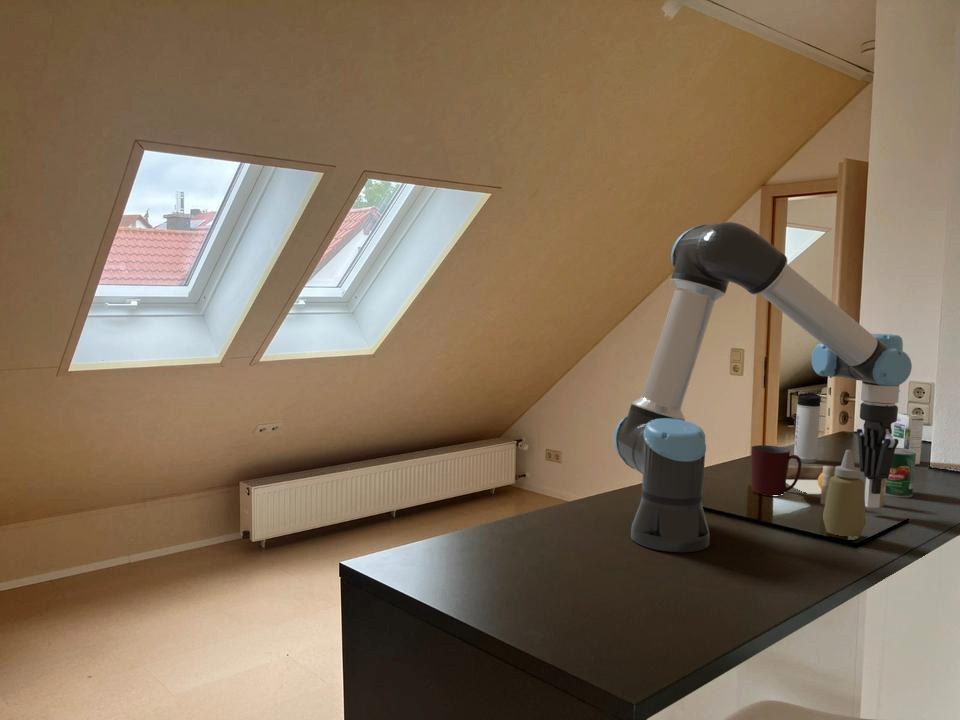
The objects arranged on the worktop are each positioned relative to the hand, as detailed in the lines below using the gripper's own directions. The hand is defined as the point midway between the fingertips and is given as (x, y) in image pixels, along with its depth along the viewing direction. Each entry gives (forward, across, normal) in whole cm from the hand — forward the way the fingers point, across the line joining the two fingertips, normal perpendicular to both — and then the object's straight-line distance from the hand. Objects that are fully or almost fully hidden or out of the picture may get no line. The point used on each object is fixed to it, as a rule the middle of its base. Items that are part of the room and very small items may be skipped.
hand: (871, 506), depth 180 cm
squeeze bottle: (+2, -16, +15) cm, 22 cm away
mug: (+2, +17, +15) cm, 23 cm away
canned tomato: (+2, +19, -17) cm, 26 cm away
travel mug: (+2, +55, -11) cm, 56 cm away
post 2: (+2, +8, -6) cm, 10 cm away
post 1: (+2, +8, +6) cm, 10 cm away
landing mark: (+2, +24, 0) cm, 24 cm away
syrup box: (+2, +54, -41) cm, 68 cm away
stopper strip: (+2, +34, 0) cm, 34 cm away
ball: (-1, +19, 0) cm, 19 cm away
